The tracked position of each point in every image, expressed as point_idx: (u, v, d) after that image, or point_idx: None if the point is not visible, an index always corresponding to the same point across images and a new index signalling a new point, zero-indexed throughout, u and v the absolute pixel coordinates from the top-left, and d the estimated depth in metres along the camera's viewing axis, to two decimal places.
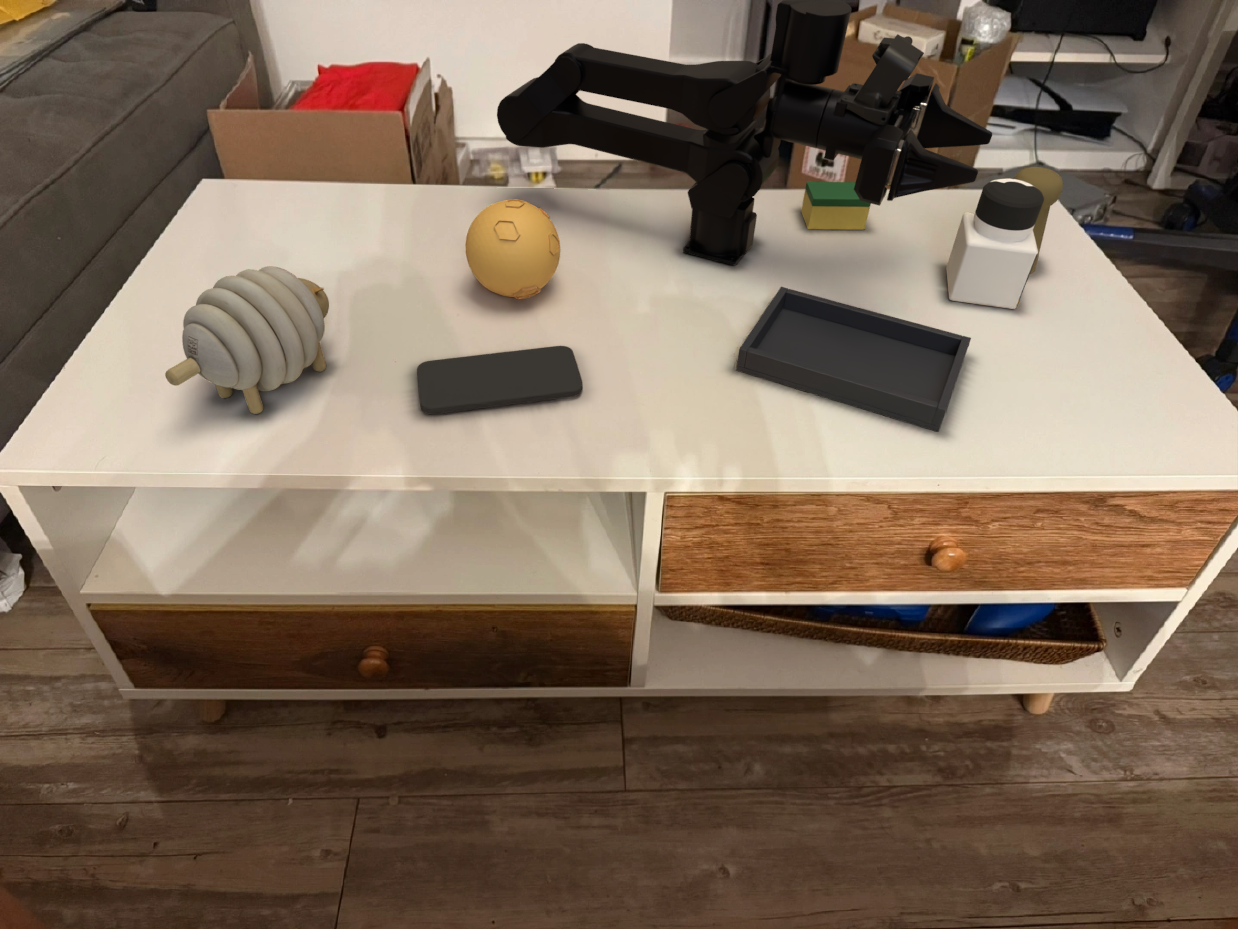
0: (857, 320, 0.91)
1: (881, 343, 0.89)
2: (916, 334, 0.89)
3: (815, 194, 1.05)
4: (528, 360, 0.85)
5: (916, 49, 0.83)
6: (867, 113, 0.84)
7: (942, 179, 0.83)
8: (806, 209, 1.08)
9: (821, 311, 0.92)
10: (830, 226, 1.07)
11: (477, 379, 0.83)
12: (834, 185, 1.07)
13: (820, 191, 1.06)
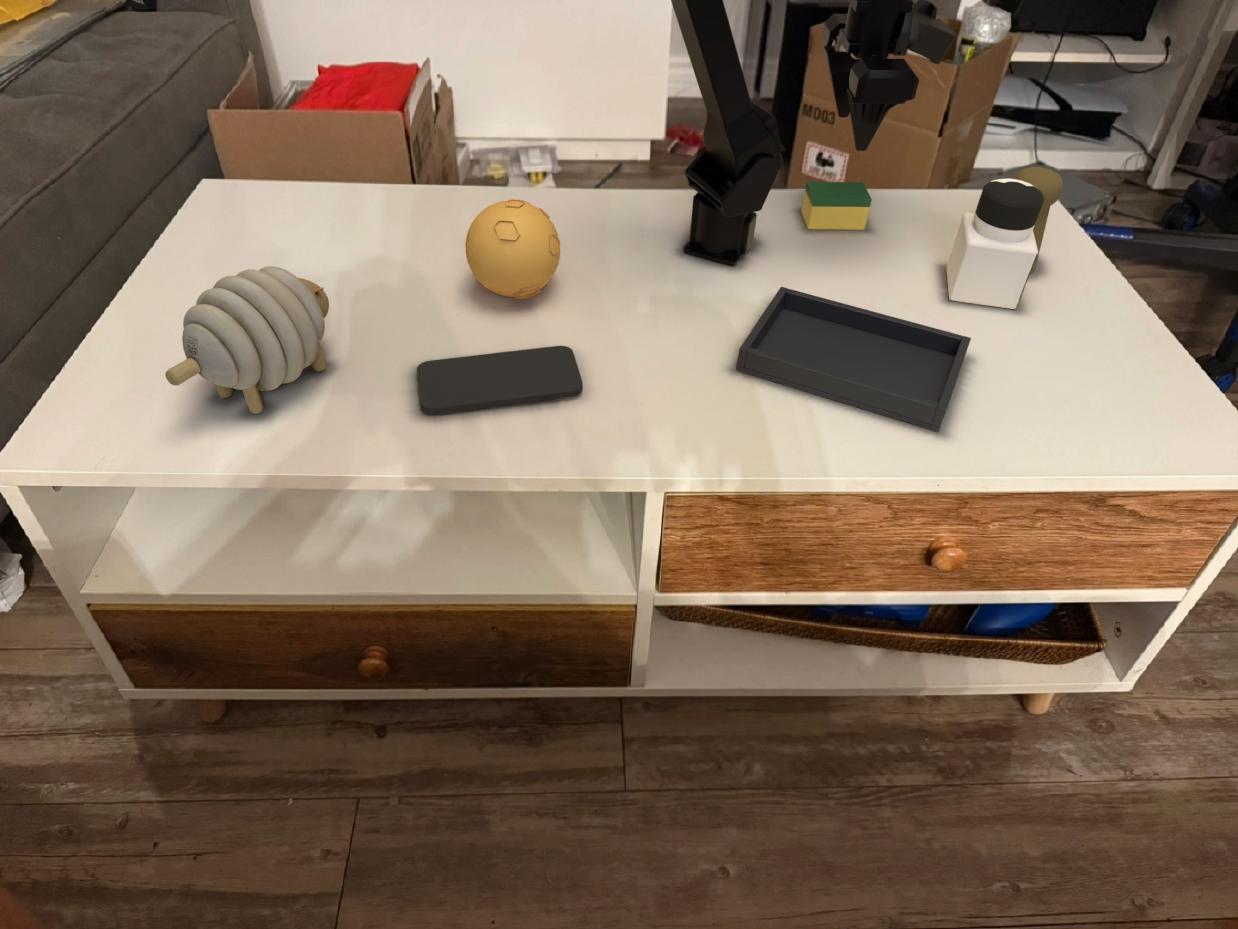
0: (857, 320, 0.91)
1: (881, 343, 0.89)
2: (916, 334, 0.89)
3: (815, 194, 1.05)
4: (528, 360, 0.85)
5: None
6: (904, 36, 0.92)
7: (862, 129, 0.96)
8: (806, 209, 1.08)
9: (821, 311, 0.92)
10: (830, 226, 1.07)
11: (477, 379, 0.83)
12: (834, 185, 1.07)
13: (820, 191, 1.06)
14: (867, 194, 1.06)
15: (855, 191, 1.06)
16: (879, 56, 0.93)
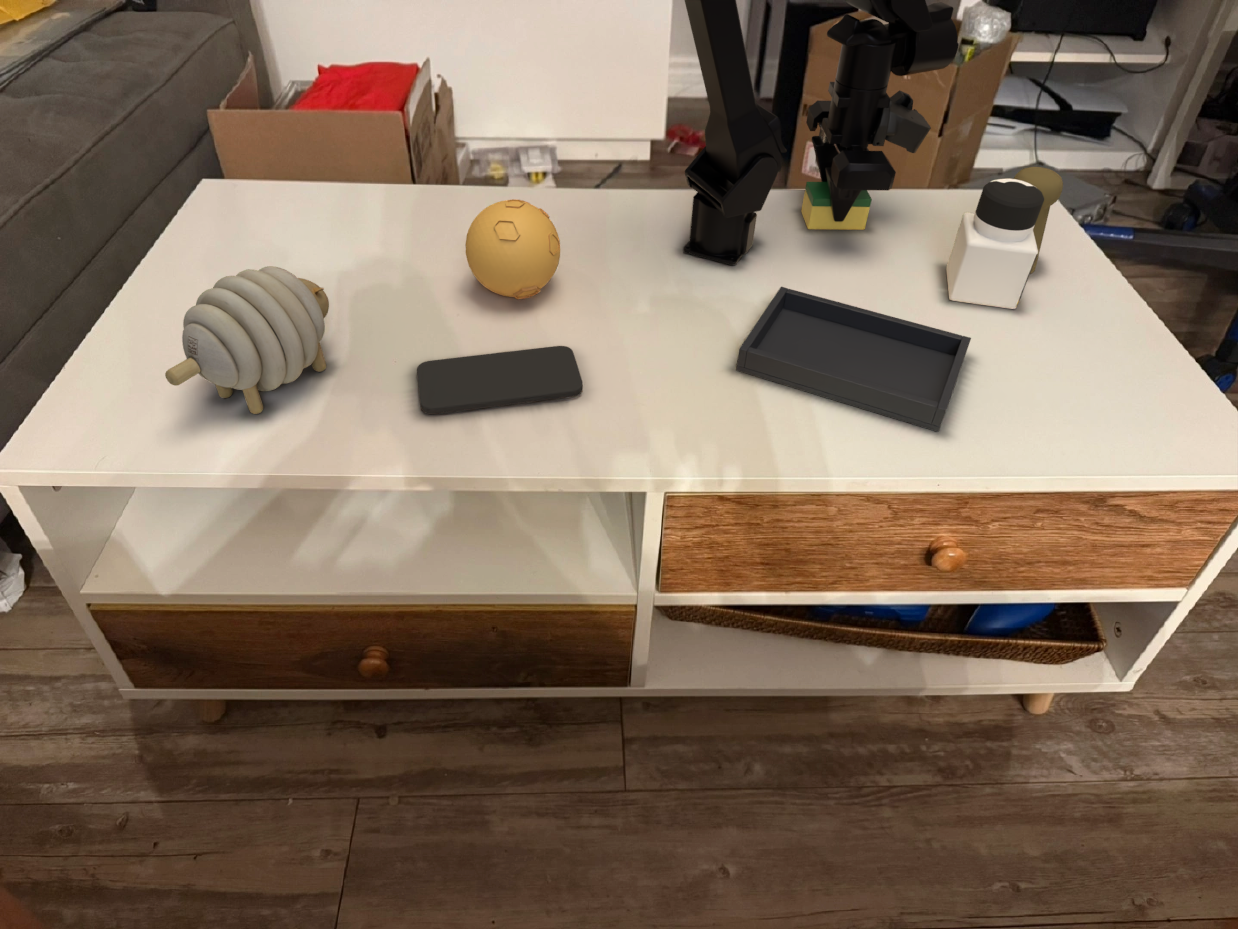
0: (857, 320, 0.91)
1: (881, 343, 0.89)
2: (916, 334, 0.89)
3: (815, 194, 1.05)
4: (528, 360, 0.85)
5: None
6: (882, 129, 0.99)
7: (839, 203, 1.04)
8: (806, 209, 1.08)
9: (821, 311, 0.92)
10: (830, 226, 1.07)
11: (477, 379, 0.83)
12: None
13: (820, 191, 1.06)
14: (867, 194, 1.06)
15: None
16: (859, 146, 1.00)
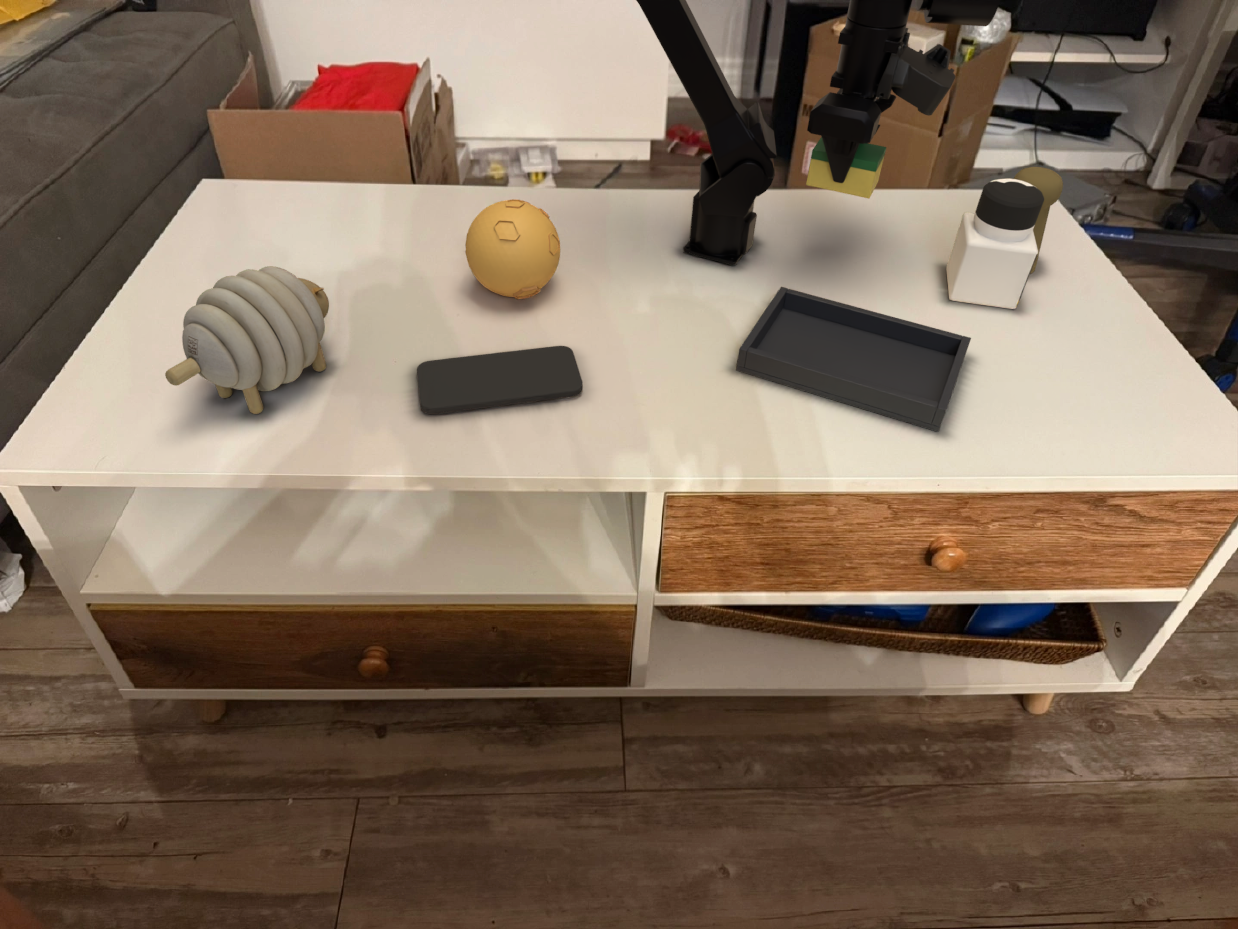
0: (857, 320, 0.91)
1: (881, 343, 0.89)
2: (916, 334, 0.89)
3: (818, 146, 0.94)
4: (528, 360, 0.85)
5: None
6: (887, 78, 0.86)
7: (835, 159, 0.92)
8: None
9: (821, 311, 0.92)
10: (830, 186, 0.96)
11: (477, 379, 0.83)
12: None
13: None
14: (877, 158, 0.93)
15: (867, 152, 0.94)
16: (859, 95, 0.88)
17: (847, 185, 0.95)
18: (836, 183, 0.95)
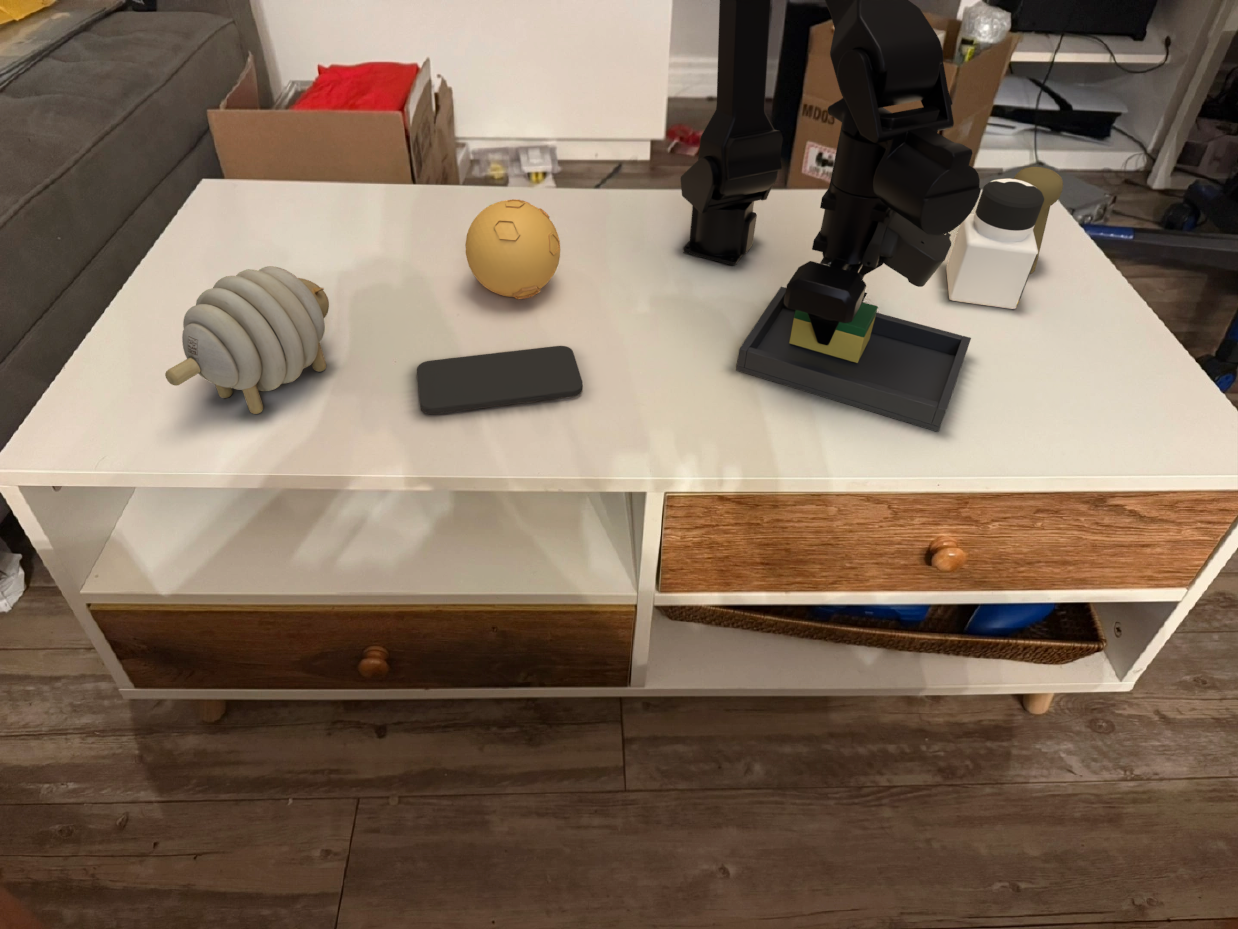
0: None
1: (881, 343, 0.89)
2: (916, 334, 0.89)
3: None
4: (528, 360, 0.85)
5: None
6: (874, 247, 0.78)
7: (819, 323, 0.84)
8: None
9: None
10: (815, 347, 0.87)
11: (477, 379, 0.83)
12: None
13: None
14: (866, 322, 0.84)
15: None
16: (843, 262, 0.79)
17: (833, 348, 0.86)
18: (821, 345, 0.87)
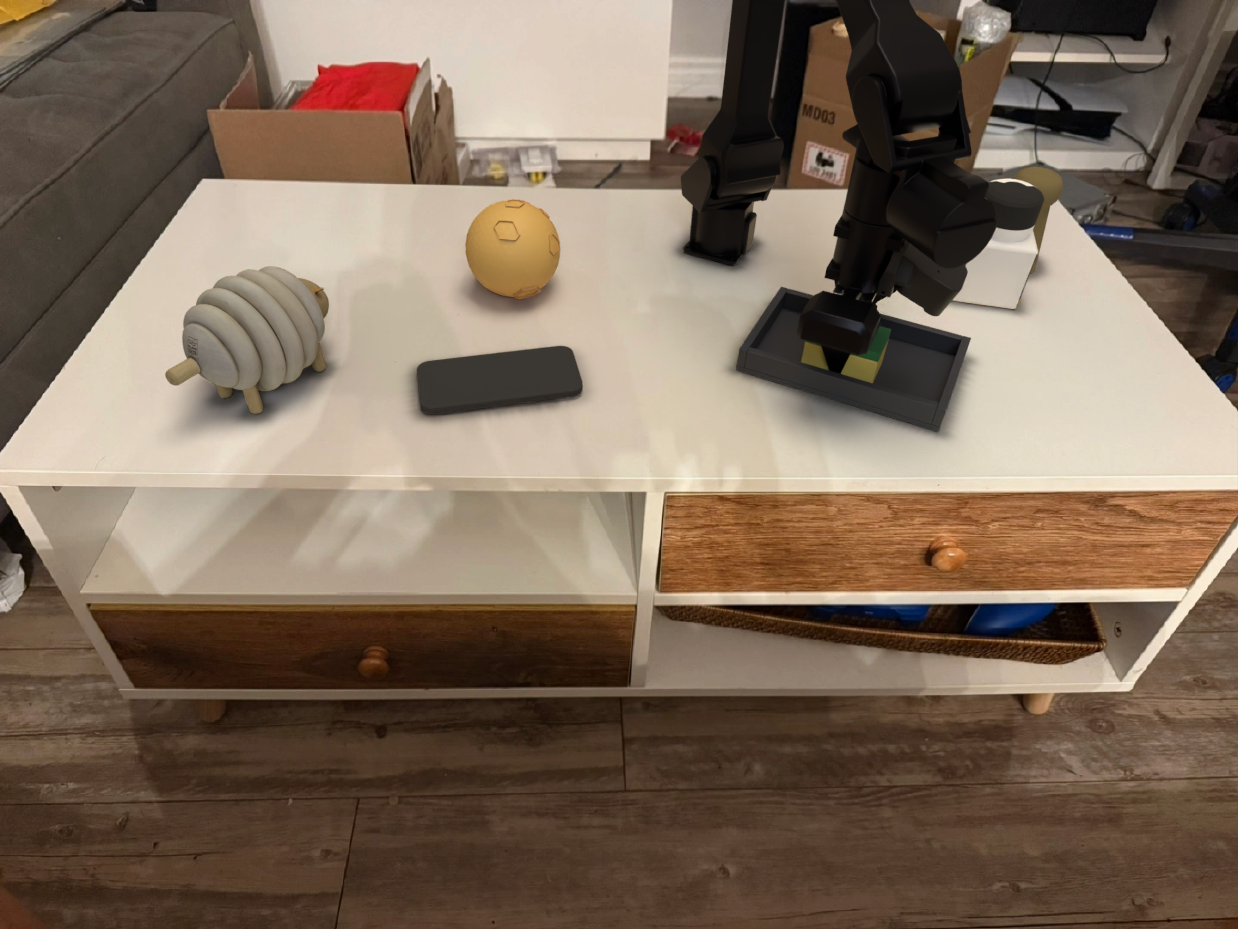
0: None
1: None
2: (916, 334, 0.89)
3: None
4: (528, 360, 0.85)
5: None
6: (889, 277, 0.75)
7: (831, 352, 0.82)
8: None
9: None
10: None
11: (477, 379, 0.83)
12: None
13: None
14: (880, 346, 0.82)
15: None
16: (857, 291, 0.77)
17: (846, 372, 0.84)
18: None
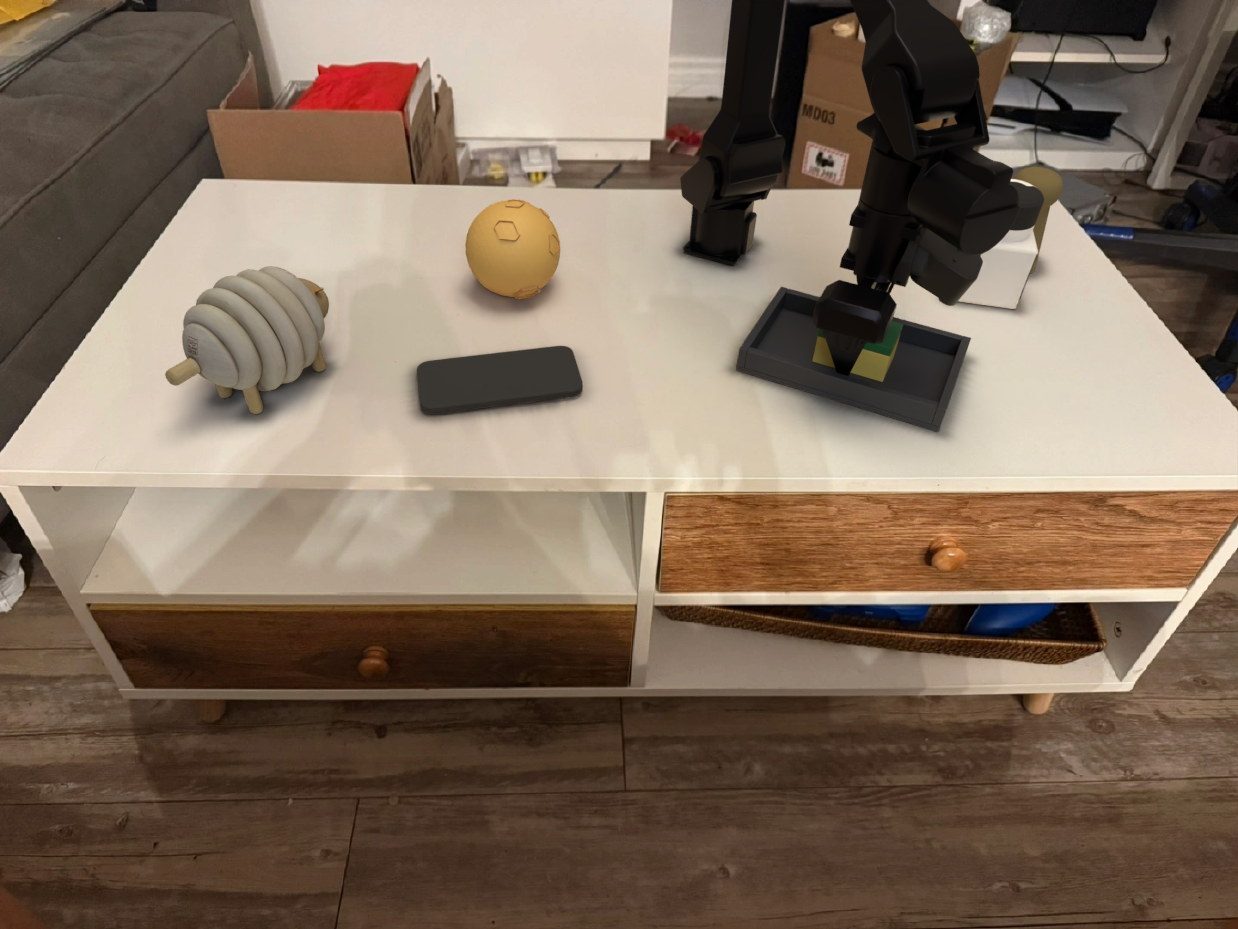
0: None
1: None
2: (916, 334, 0.89)
3: None
4: (528, 360, 0.85)
5: None
6: (904, 266, 0.76)
7: (839, 354, 0.81)
8: None
9: None
10: None
11: (477, 379, 0.83)
12: None
13: None
14: (892, 340, 0.83)
15: None
16: (872, 280, 0.78)
17: (858, 366, 0.85)
18: None
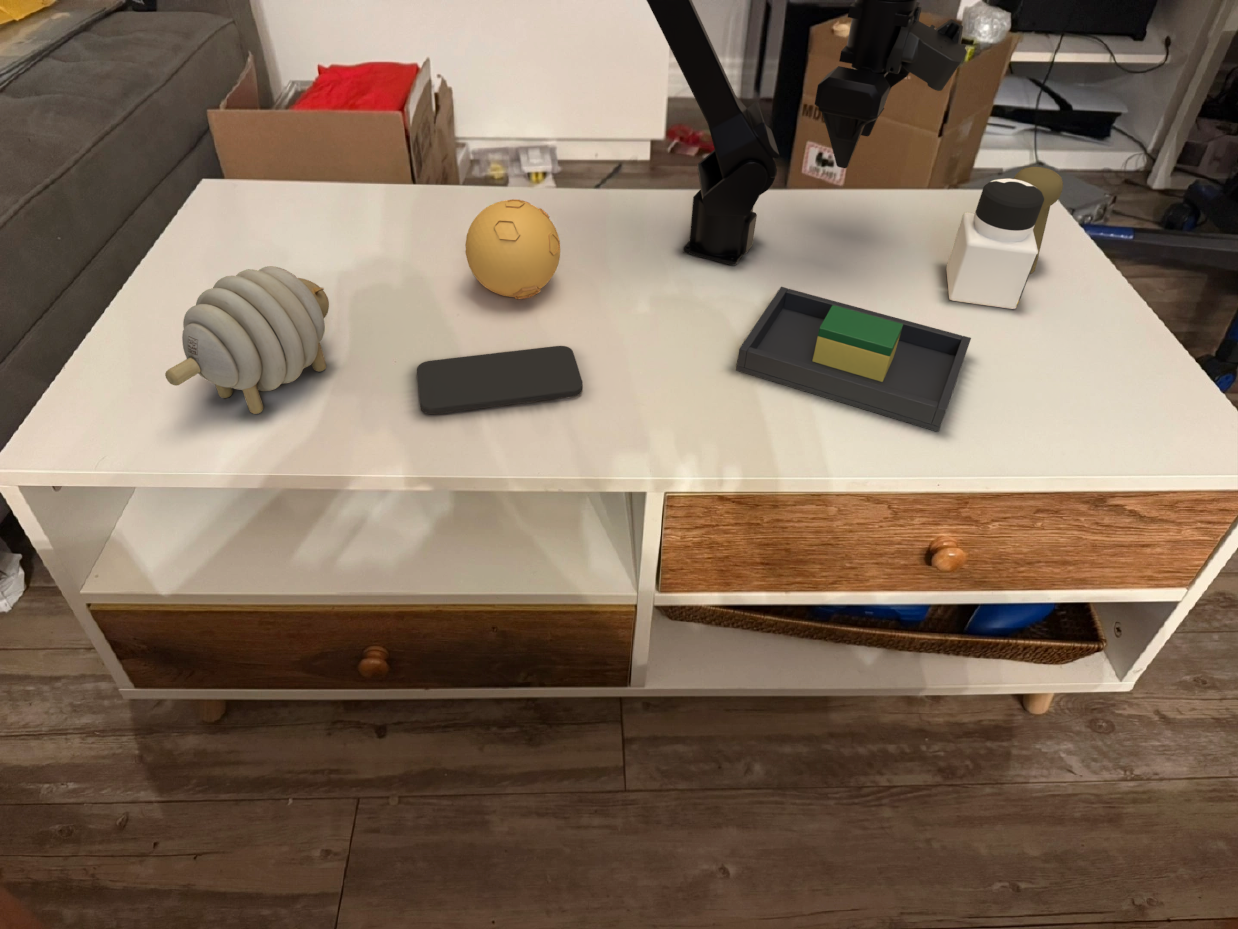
0: None
1: None
2: (916, 334, 0.89)
3: (826, 323, 0.85)
4: (528, 360, 0.85)
5: None
6: (897, 52, 0.85)
7: (838, 143, 0.90)
8: None
9: (821, 311, 0.92)
10: (839, 366, 0.86)
11: (477, 379, 0.83)
12: (861, 318, 0.85)
13: (837, 321, 0.85)
14: (892, 340, 0.83)
15: (881, 333, 0.84)
16: (868, 69, 0.87)
17: (858, 366, 0.85)
18: (846, 363, 0.85)
